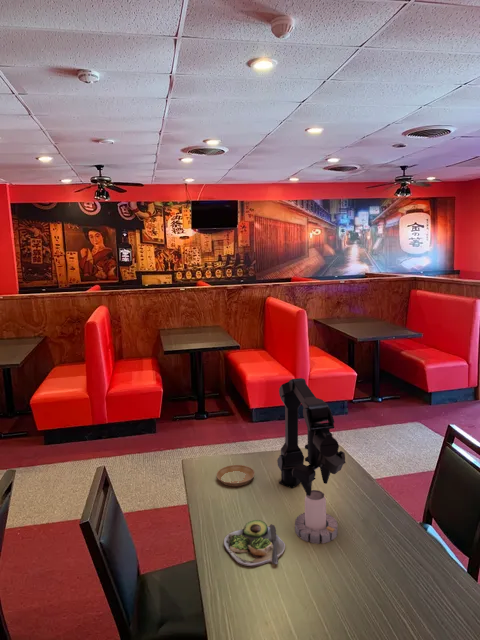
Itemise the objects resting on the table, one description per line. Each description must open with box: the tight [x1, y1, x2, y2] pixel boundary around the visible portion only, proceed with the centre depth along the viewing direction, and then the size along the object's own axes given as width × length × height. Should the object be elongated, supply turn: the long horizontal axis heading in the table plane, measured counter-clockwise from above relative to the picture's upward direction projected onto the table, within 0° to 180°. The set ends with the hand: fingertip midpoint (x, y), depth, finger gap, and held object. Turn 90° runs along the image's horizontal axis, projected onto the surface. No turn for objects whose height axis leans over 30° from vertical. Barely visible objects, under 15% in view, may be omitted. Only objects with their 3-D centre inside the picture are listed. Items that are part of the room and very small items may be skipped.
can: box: [304, 489, 327, 531], centre depth 145 cm, size 6×6×12 cm
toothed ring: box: [294, 512, 338, 545], centre depth 145 cm, size 13×13×3 cm
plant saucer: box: [216, 464, 256, 487], centre depth 179 cm, size 15×15×3 cm
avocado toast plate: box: [223, 519, 286, 567], centre depth 137 cm, size 19×18×5 cm
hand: (317, 489), depth 146 cm, fingers open, 9 cm apart
